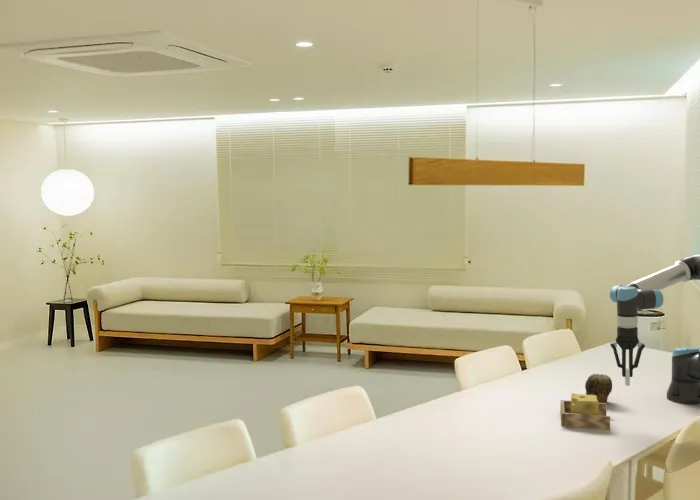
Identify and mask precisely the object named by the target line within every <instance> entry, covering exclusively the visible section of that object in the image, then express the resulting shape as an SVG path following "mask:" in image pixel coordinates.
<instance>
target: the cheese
mask: <svg viewBox="0 0 700 500" xmlns="http://www.w3.org/2000/svg"><path fill="white" fill-rule="evenodd" d="M570 395H571V396H570V401H571V413H576V414H589V415H598V413H599V404H598V400H597V396H596V395H586V394H583V393H582V394H581V393H571V394H570Z"/></svg>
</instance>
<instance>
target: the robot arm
mask: <svg viewBox="0 0 700 500" xmlns="http://www.w3.org/2000/svg"><path fill="white" fill-rule="evenodd" d="M694 280H695V281H700V252H698V253H695V254H693V255H689V256H686V257H683V258H681V259H678V260H676V261H674V262H673V263H672V264H671V265H670V266H668V267H665V268H663V269H660V270H658V271H656V272H654V273H651V274H649V275H646V276H645V277H641V278H639V279H637V280H635V281H632V282H630V283H628V284H624V285H621V284H620V285H619V284H617V285H613V286H612V287H611V288H610V291H609V298H610V300H611V301H612V302H613V303H616V313H617V317H616V325H617V327H616V338H615V340H614V341H613V342H610V343H609V345H610V347H611V349H612V351H613V354H614V358H615V363H616V366H617V367H618V368H621V375H622V377H623V378H624V385H625V386H627V387H630V385H631V384H630V381H631V380H630V378H632V377H633V375H634V373H633V372H634V371H633V370H634V369H637V368H638V367H639V363H640V359H641V356H642V352H643V350H644V348H645V347H646V345H645V343H642V342H641V341H640V339H639V338H638V335H639V334H638V333H639V331H638V330H639V329H638V325H639V324H638V323H639V322H638V318H639V317H638V316H639V315H638V313H639V311H643V310H654V309H657V308H658V309H659V308H661V307H662V305H664V295H663V293H662V292H661V291H662V290H664V289H667V288H669V287H670V286H673V285H676V284H678V283H680V282H682V283H686V282H689V281H694ZM618 346H619V348H620V349H621V359H620V356H619V354H618V349H617V347H618ZM636 347H637V351H636V355H635V358H634V349H635V348H636ZM627 350H628V367H626V366H627V360H626V359H627V357H626V356H627ZM666 399H667V400H669V401H672V402H675V403H679V404H687V405H699V404H700V347H698V346H677V347H675V348H673V349H672V355H671V381H670V383H669V386H668V388H667V390H666Z"/></svg>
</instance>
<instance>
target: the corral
mask: <svg viewBox="0 0 700 500" xmlns="http://www.w3.org/2000/svg"><path fill="white" fill-rule="evenodd" d="M598 404H599V413H598V415H589V414H576V413H571V400H567V399H565V400H564V399H560V407H559V408H560V411H559V412H560V423H561V424H560V425H561V427H570V428H583V429H595V430H605V431H607V430H608V431H610V430H611V416H610V415H607V406H608V403H607V402H606V403H598Z"/></svg>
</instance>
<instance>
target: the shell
mask: <svg viewBox="0 0 700 500" xmlns="http://www.w3.org/2000/svg"><path fill="white" fill-rule="evenodd" d="M584 388H585V391H586V392H585V395H596V396H597V400H598V403H606V404H607V402H608V398H609V396H610V394H611V393H612V391H613V380H612V379H611V377H610V376H609V375H607V374H603V373H602V374H599V373H593V374H591V375H589V376H588V377H587V380H586V381H585V385H584Z"/></svg>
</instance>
